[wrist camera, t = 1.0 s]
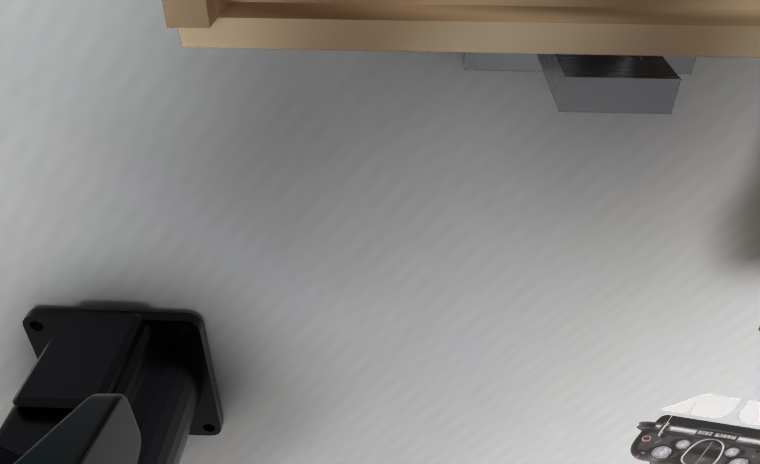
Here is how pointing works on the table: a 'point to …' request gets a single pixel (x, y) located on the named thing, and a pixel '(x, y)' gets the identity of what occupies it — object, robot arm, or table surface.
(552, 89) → the stand
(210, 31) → the lever
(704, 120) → the table surface
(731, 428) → the car cutout
